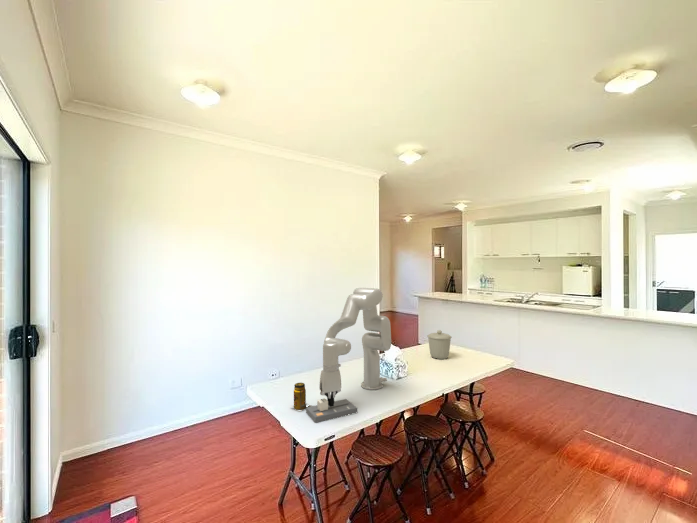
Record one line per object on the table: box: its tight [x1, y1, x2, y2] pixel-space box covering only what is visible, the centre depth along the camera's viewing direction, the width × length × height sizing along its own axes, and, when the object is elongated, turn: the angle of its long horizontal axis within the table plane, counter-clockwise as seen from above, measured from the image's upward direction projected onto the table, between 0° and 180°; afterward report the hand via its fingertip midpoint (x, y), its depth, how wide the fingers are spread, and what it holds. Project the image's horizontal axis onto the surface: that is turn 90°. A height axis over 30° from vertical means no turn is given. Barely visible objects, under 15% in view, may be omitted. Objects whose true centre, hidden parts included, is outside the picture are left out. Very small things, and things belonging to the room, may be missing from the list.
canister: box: [426, 329, 452, 360], centre depth 260 cm, size 18×18×21 cm
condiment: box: [293, 382, 312, 412], centre depth 171 cm, size 7×8×12 cm
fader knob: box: [316, 398, 328, 411], centre depth 162 cm, size 4×4×4 cm
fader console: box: [305, 398, 358, 424], centre depth 164 cm, size 22×12×3 cm, turn 118°
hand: (330, 405), depth 164 cm, fingers closed
